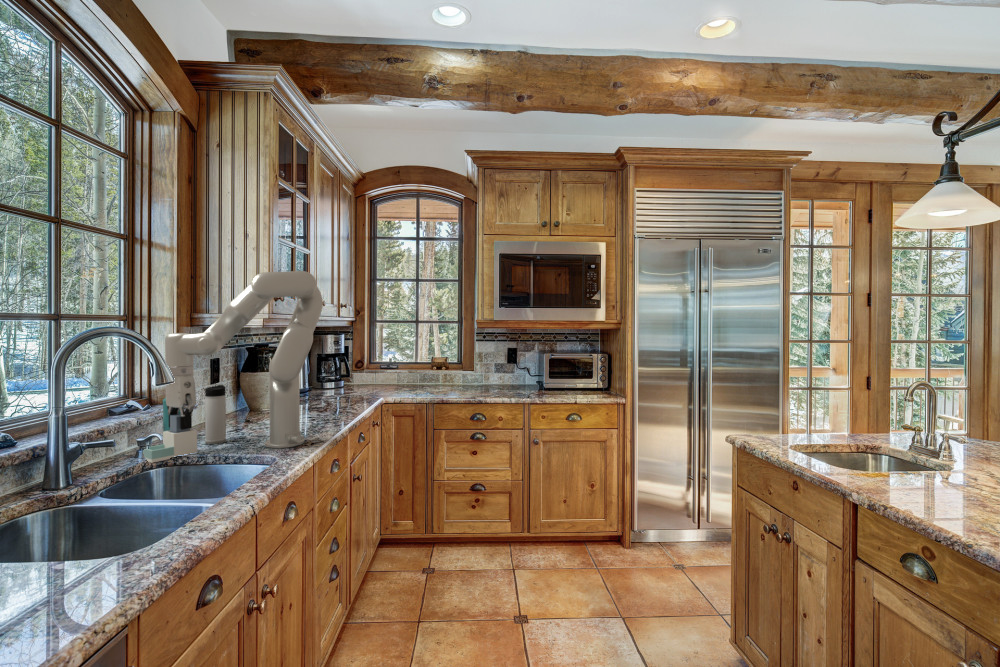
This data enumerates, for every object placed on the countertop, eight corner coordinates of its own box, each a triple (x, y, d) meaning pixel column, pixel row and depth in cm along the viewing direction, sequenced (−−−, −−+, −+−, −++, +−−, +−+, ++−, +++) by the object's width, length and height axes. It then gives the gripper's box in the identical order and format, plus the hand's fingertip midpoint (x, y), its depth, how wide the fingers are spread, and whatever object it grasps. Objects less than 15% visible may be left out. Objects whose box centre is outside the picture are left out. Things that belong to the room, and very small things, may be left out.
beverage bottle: (182, 444, 168) (182, 387, 167) (160, 446, 165) (159, 387, 165) (187, 440, 174) (186, 385, 173) (165, 442, 171) (164, 385, 171)
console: (197, 453, 156) (197, 430, 156) (151, 462, 145) (151, 437, 145) (186, 450, 159) (186, 427, 159) (141, 459, 148) (140, 435, 148)
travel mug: (230, 440, 173) (230, 385, 173) (218, 445, 166) (217, 387, 166) (214, 440, 174) (213, 384, 173) (201, 444, 167) (200, 387, 167)
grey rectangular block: (190, 439, 155) (189, 414, 155) (176, 442, 152) (176, 416, 152) (183, 438, 157) (183, 413, 157) (170, 440, 154) (170, 415, 154)
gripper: (206, 372, 153) (206, 428, 153) (178, 369, 162) (179, 423, 162) (180, 373, 147) (181, 432, 147) (153, 371, 156) (153, 427, 156)
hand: (180, 427), depth 154 cm, fingers open, 6 cm apart
